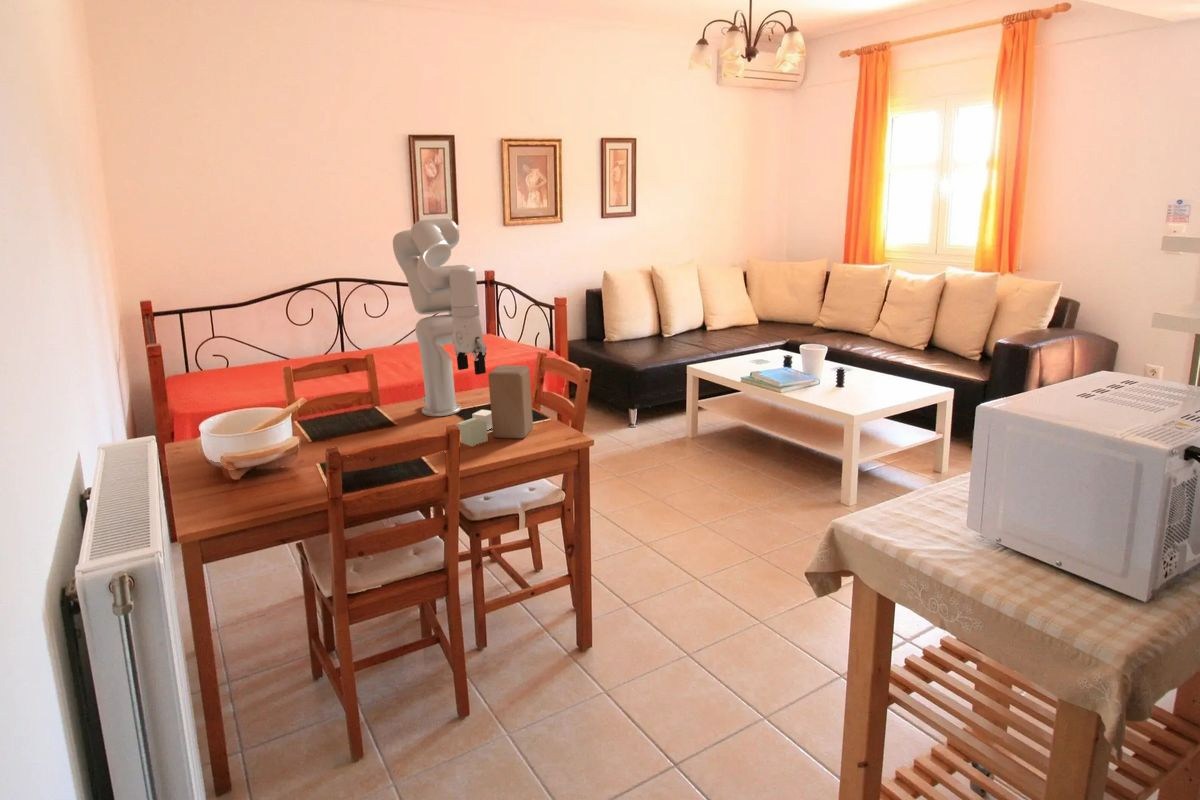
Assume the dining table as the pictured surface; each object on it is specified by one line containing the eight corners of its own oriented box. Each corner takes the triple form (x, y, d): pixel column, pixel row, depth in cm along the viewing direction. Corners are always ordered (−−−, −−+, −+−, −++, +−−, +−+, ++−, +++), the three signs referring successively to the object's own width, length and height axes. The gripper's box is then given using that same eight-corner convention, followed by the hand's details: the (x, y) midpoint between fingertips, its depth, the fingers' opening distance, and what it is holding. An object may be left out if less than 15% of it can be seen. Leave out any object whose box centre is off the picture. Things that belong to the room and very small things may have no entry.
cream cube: (473, 429, 231) (472, 414, 229) (483, 424, 235) (481, 409, 234) (486, 431, 229) (485, 416, 227) (496, 426, 233) (495, 411, 231)
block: (524, 439, 220) (520, 373, 214) (492, 438, 222) (486, 373, 216) (534, 428, 230) (530, 364, 224) (502, 427, 232) (498, 364, 226)
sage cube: (458, 442, 220) (456, 423, 218) (475, 437, 224) (473, 417, 223) (471, 447, 216) (469, 427, 215) (487, 441, 220) (486, 421, 219)
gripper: (439, 311, 216) (445, 369, 220) (469, 316, 203) (475, 378, 207) (462, 308, 220) (468, 365, 225) (493, 312, 207) (499, 373, 212)
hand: (471, 371), depth 216 cm, fingers open, 9 cm apart
